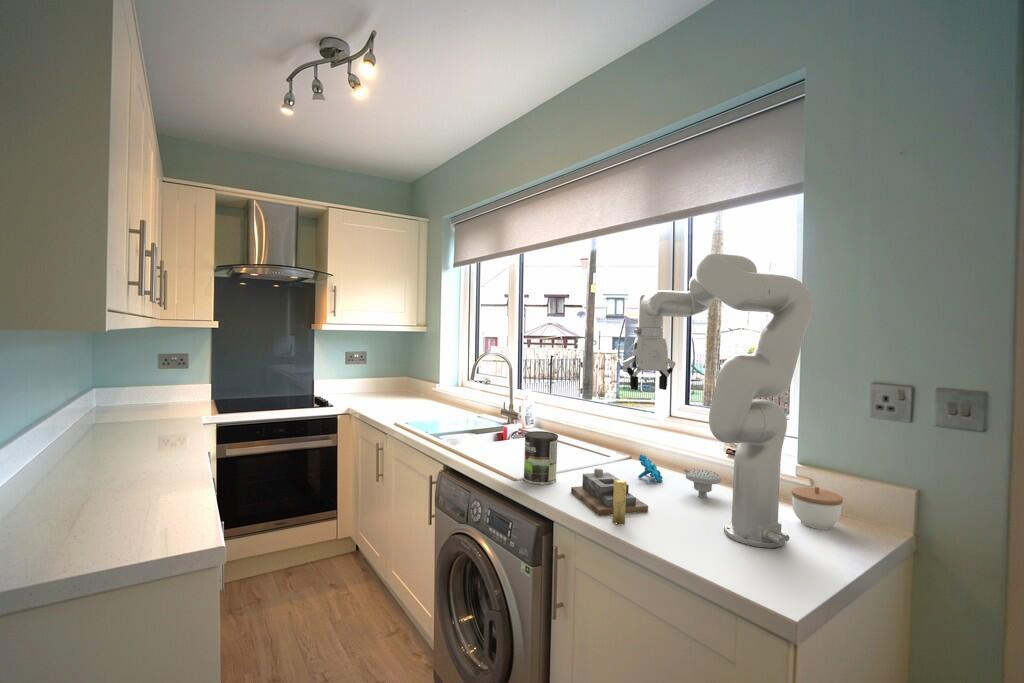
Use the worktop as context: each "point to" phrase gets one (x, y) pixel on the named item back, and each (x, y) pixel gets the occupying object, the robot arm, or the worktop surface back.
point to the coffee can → (540, 457)
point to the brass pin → (619, 501)
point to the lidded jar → (816, 506)
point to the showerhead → (703, 480)
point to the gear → (650, 469)
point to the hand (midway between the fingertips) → (648, 389)
